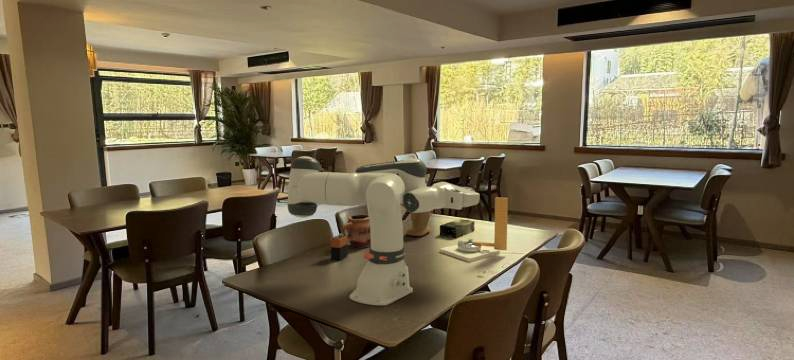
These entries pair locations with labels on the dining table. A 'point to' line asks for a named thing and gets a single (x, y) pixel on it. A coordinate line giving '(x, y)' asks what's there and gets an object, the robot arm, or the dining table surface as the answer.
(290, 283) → the dining table surface
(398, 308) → the dining table surface
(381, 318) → the dining table surface
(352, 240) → the decorative planter
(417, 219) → the stone cup
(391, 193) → the robot arm
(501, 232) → the orange post with disc
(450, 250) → the base plate
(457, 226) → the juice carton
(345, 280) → the dining table surface
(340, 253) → the battery
